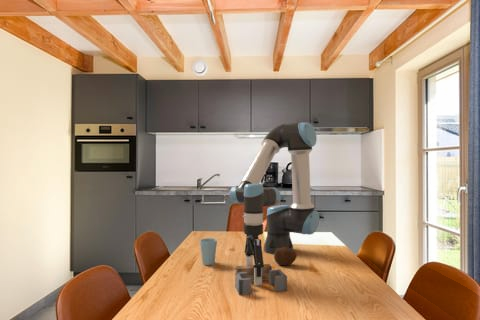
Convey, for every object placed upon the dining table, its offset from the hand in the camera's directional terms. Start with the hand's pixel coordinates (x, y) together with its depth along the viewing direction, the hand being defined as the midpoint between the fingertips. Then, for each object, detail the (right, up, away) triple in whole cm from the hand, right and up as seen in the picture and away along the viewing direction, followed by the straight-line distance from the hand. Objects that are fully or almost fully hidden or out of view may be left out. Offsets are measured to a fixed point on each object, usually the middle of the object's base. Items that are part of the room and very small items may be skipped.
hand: (253, 278), depth 121 cm
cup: (-19, -1, +19) cm, 27 cm away
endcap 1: (-4, 0, -11) cm, 12 cm away
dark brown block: (0, 0, 0) cm, 0 cm away
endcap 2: (+9, 0, -8) cm, 12 cm away
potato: (+15, -1, +16) cm, 22 cm away
